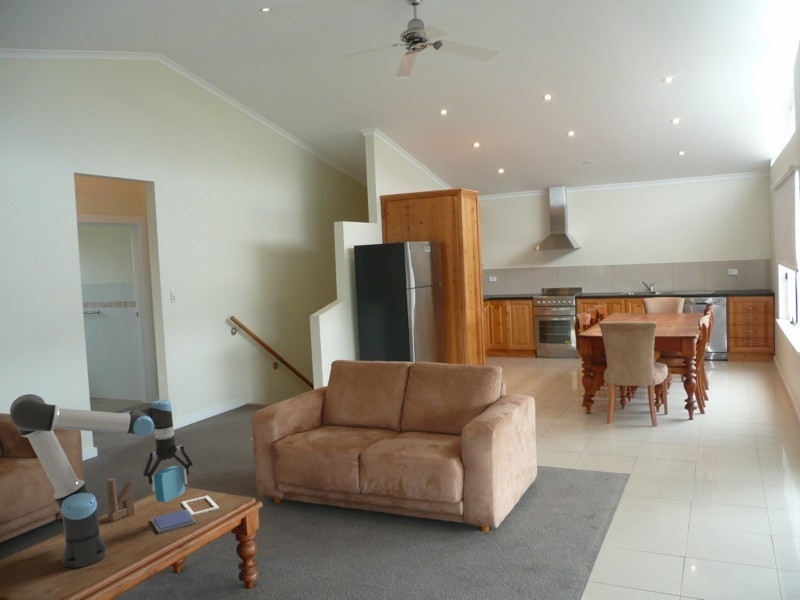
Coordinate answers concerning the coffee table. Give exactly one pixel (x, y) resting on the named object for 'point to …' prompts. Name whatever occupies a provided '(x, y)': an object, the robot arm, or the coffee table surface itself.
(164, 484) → the data package
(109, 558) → the coffee table surface
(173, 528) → the ink pad
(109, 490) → the brown wooden mallet
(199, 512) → the frame
